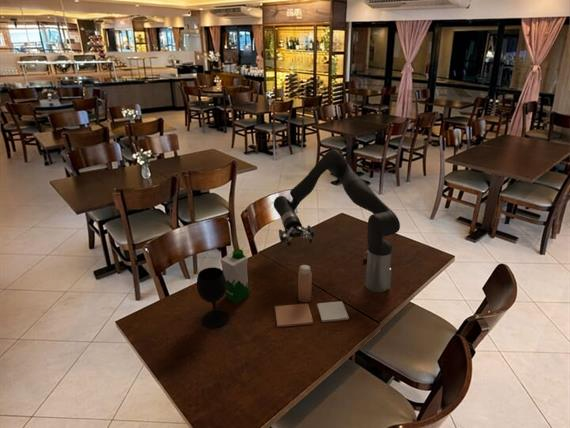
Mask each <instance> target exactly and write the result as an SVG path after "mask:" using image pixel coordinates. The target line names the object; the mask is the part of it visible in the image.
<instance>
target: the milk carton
mask: <svg viewBox="0 0 570 428" xmlns="http://www.w3.org/2000/svg"><path fill="white" fill-rule="evenodd" d="M248 260H249V257H248V256H246V255H245V254H244V250H242V249H239V248H236V249H234V250H232V253H230V254H227V255H225V256H224V257H222V258H220V263H221V267H222V271H223V273H224V276H225V279H226V291H225V294H224V297H225V298H227V299H228V300H230V301H231V302H232V303H233V304H234V303H235V304H238V303H241V301H243V300H245V299H247V298H249V297H250V289H249V288H250V287H249V282H248V280H249V279H248Z"/></svg>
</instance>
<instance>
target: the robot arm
mask: <svg viewBox="0 0 570 428" xmlns="http://www.w3.org/2000/svg"><path fill="white" fill-rule="evenodd" d="M326 171H329V172H330V174H332V175H333V176H334V177H335V178H336V179H338V180H339V182H340V183H341V185H342V188H343V189H344V190H343V191H344V192H345V193H346V195H347V196H348V198H349V199H350V200H351V202H353V204H355V206H358V207H360V208H361V209H364V210H367V211H369V212H371V213H372V214H371V215H370V216H369V217H368V220H367V227H366V228H367V233H366V235H367V237H366V240H367V250H368V257H367V259H366V272H365V288H366V289H367V290H368V291H370V292H372V293H384V292H386V291H387V290H391V281H392V280H391V278H392V268H391V262H392V251H393V245H392V243H391V242H389V241H388V240H386V239H384V237H386V236H387V237H388V236H391V235H395V234H397V233H398V232H399V231H400V230H401V223H400V220H399V218H398V216H397V214H396V213H395V212H394V211H393V210H392V209H391V208H389V206H387V205H386V204H385V203H384V202H383V201H382V200H381V199H380V197H378V196H377V194H376V193H375V192H374V191H373V189H371V187H370V186H369V185H368V184H367V182H366V181H364V179H363V178H361V177H360V176H359V175H358V174H357V173H355V172H354V170H353V168H352V167H351V166H350V164H349V163H348V160H347V159H346V158H345V156H344V155H343V154H342V153H341V152H340V151H339V150H337V149H330V150H329V151H326V153H324V155H323V156H322V157H321V158H320V159H319V160H318V162H317V163H316V164H315V165H314V167H313V168H312V169H310V171H309V173H308V174H307V175H306V176H305V177H304V178H303V179H302V180H300V182H299V183H297V184H296V185H295V186H294V187H293V188H291V190H290V191H289V195H290V197H291V198H292V200H291V201H290V200H289V199H288V198H287V197H285V196H283V195H278V196H277V197H276V198H274V200H273V208H274V209H275V210H276V213H277V214H278V215H279V216H280V219H281V223H282V226H283V229H284V230H282V229H278V237H279V241H280V242H281V243H283V242H285V244H286V246H288V247H291V239H292V238H302V239H305V238H306V239H307V242H308V244H312V242H313V238H314V237H315V232H314V230H313V228H312V227H311V225H307V227H304V226H303V225H302V222H301V220H300V218H299V216H298V215H297V213H296V211H295V210H296V209H297V208H298V206H299V205H300V204H301V203H302V201H303V200H305V198H307V197H308V196H309V195H310V194H311V193H313V192H312V191H313V190H314V189H315V187H316V185H317V183H318V181H319V179H320V177H321V176H322V175H323V174H324V172H326Z"/></svg>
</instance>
